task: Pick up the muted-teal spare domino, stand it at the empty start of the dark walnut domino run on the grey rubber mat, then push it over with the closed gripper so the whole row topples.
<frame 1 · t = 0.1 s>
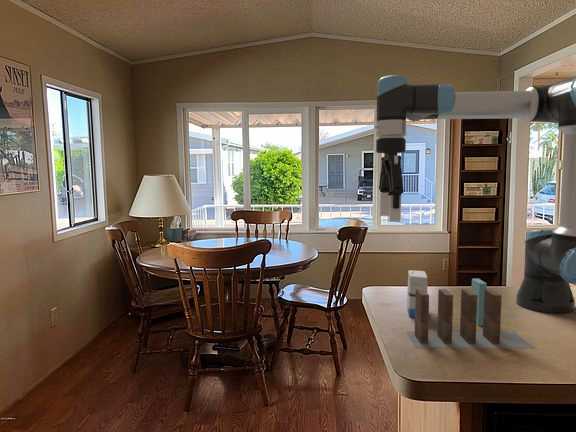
hand: (389, 218, 118), 28 cm above the kitchen counter, fingers open, 13 cm apart
ink box: (416, 314, 126), on the kitchen counter
tile b: (490, 339, 106), resting on mat
mat: (467, 341, 106), on the kitchen counter
tile e: (421, 339, 106), resting on mat
teal tile: (477, 323, 118), on the kitchen counter
tile d: (444, 339, 106), resting on mat
tile c: (467, 339, 106), resting on mat
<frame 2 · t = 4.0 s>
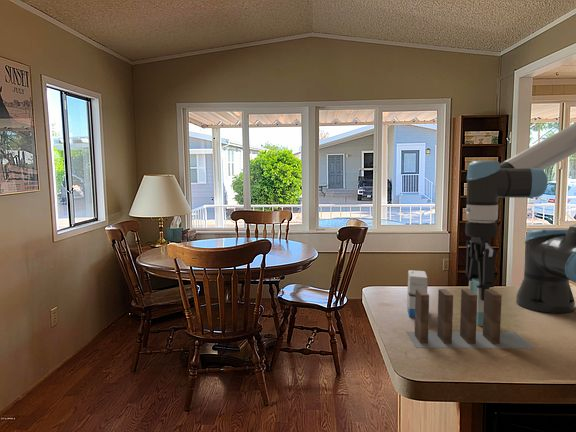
hand: (478, 308, 117), 4 cm above the kitchen counter, fingers closed on teal tile, 5 cm apart
teal tile: (477, 323, 118), on the kitchen counter, touching gripper
everything else where it was.
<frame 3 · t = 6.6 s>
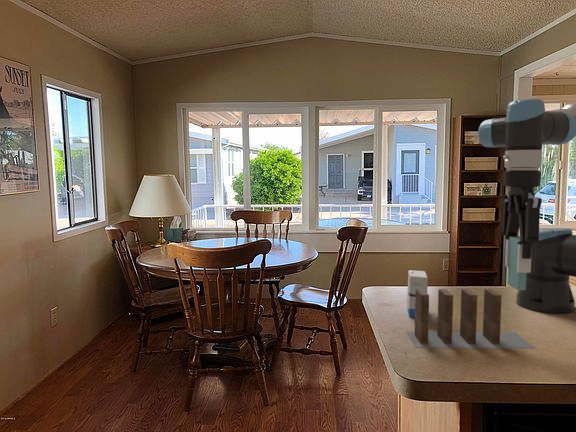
hand: (517, 269, 104), 18 cm above the kitchen counter, fingers closed on teal tile, 5 cm apart
teal tile: (516, 287, 104), point 13 cm above the kitchen counter, touching gripper
everything else where it was.
when the fingers open (5 cm above the kitchen counter, at t = 9.4 s): teal tile stays where it is, resting on mat.
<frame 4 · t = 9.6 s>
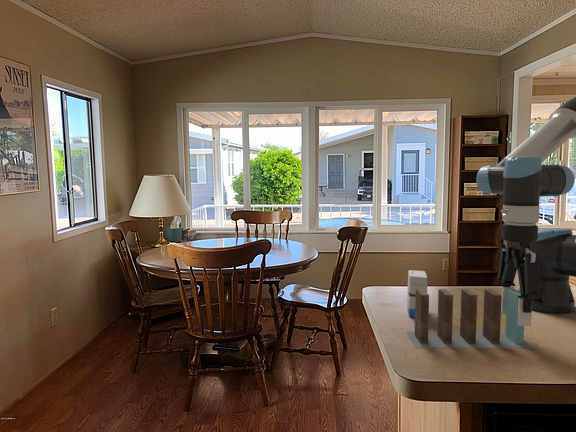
hand: (515, 318, 105), 5 cm above the kitchen counter, fingers open, 8 cm apart
teal tile: (514, 339, 105), resting on mat
everything else where it was.
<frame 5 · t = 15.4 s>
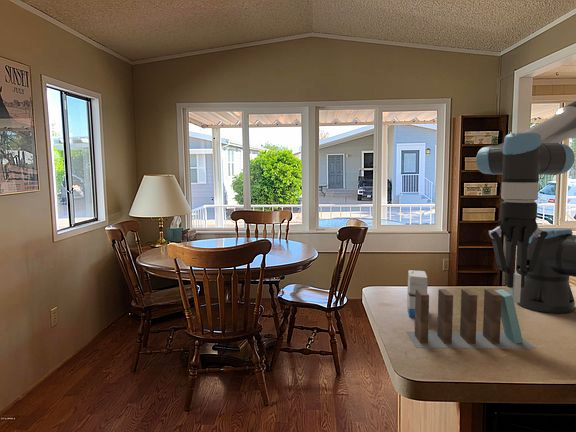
hand: (513, 300, 104), 10 cm above the kitchen counter, fingers closed
teal tile: (513, 338, 105), point 1 cm above the kitchen counter, tilted 15°, touching mat
everything else where it was.
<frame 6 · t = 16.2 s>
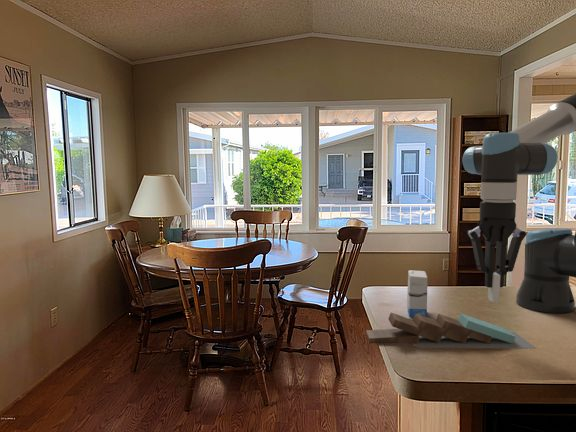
hand: (493, 300, 105), 10 cm above the kitchen counter, fingers closed
tile b: (486, 336, 106), point 1 cm above the kitchen counter, tilted 71°, touching mat, teal tile, tile c
tile e: (416, 335, 106), point 1 cm above the kitchen counter, tilted 93°, touching mat, tile d
teal tile: (509, 336, 105), point 1 cm above the kitchen counter, tilted 71°, touching tile b
tile d: (437, 335, 106), point 1 cm above the kitchen counter, tilted 70°, touching tile c, tile e
tile c: (462, 336, 106), point 1 cm above the kitchen counter, tilted 70°, touching mat, tile b, tile d
everything else where it was.
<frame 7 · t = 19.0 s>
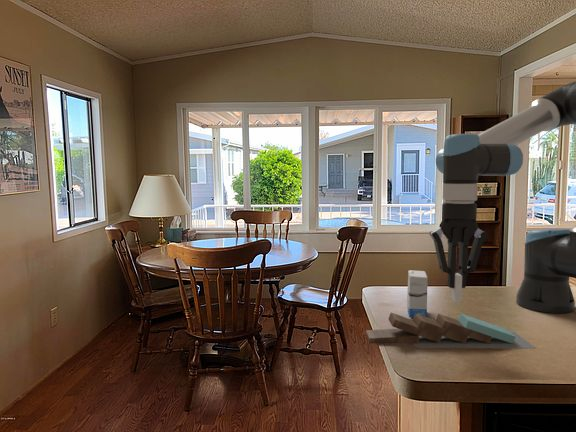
hand: (456, 301, 105), 10 cm above the kitchen counter, fingers closed
nothing on the kitchen counter moved.
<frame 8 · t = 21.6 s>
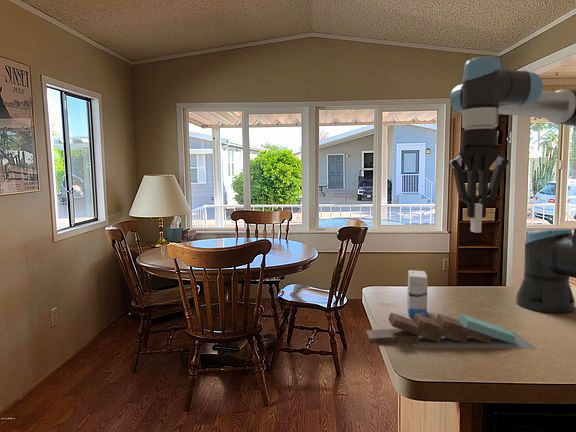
hand: (475, 231, 103), 26 cm above the kitchen counter, fingers closed
nothing on the kitchen counter moved.
at the end: tile e tilted 93°; teal tile tilted 71°; teal tile inside the target area (2.7 cm from its centre), point 1.3 cm above the kitchen counter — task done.
